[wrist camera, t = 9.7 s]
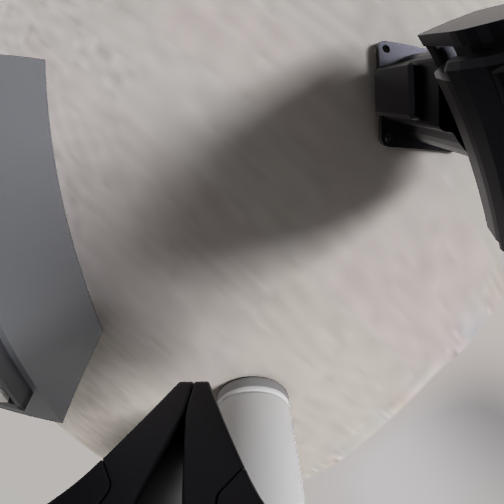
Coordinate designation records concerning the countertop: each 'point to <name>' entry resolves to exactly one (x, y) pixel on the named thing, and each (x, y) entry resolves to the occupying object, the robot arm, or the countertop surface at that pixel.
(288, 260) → the countertop surface
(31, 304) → the switch box
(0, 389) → the white rocker
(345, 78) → the countertop surface
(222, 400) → the travel mug
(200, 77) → the countertop surface
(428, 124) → the robot arm
